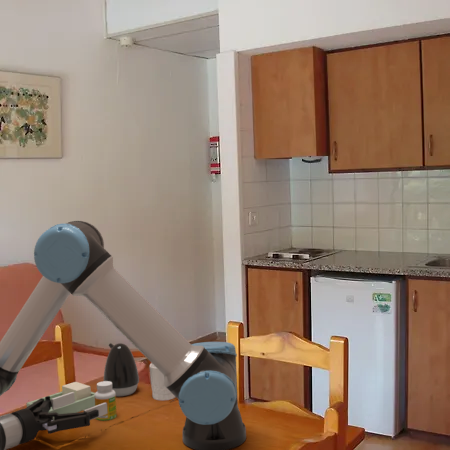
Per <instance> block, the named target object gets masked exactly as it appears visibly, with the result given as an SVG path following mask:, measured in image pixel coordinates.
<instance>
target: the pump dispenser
mask: <svg viewBox="0 0 450 450" xmlns="http://www.w3.org/2000/svg"><path fill="white" fill-rule="evenodd" d="M108 348H110V350H109V352H108V355H107V358H106V362H105V366H104V372H103V381H110V382H112V390H114V391H115V394H116V397H126V396H131V395H132V394H134V393H135V392H136V390H137V388H138V385H139V383H140V376H139V370H138V367H137V364H136V360H135V357H134V355H133V353H132V351H131V349H130V348H129V345H127V344H125V343H122V342H119V343H116V344H113V343H111V342H110V343H109V344H108Z"/></svg>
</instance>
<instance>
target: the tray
mask: <svg viewBox="0 0 450 450" xmlns="http://www.w3.org/2000/svg"><path fill="white" fill-rule="evenodd" d="M95 393H96V392H94V391H91V396H89V397H87V398H84V399H81V400H78V401H75V403H72V404H69V405H66V406H63V407H60V408H57V409H55V410H53V409H52V407H51V409H50V410H49V412H48V413H55V412H57V413H58V414H67V413H78V412H84V410H86V409H88V408H91V407H94V406H95ZM48 396H50V400H51V399H53V398H56V397H59V396H62V391H60V392H56V393H53V394H50V395H48ZM45 397H46V396H43V397H40V398H38V399H37V398H36V399H35V400H31V401H28V402H26V408H27V407H28V406H30V405H31V404H33V403H34V402H36V401H37V400H39V399H41V398H43V399H44V400H45ZM53 420H54V417H53Z"/></svg>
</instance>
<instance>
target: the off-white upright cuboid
mask: <svg viewBox="0 0 450 450" xmlns="http://www.w3.org/2000/svg"><path fill="white" fill-rule="evenodd" d="M61 392H62V395H65V394H68V393H71V392H74V398H75V401H78V400H81V399H84V398H87V397H89V396H91V392H92V390H91V386H90V385H88V384H84V383H81V382H78V381H73V382H71V383H68V384H63V385H61Z"/></svg>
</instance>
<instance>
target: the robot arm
mask: <svg viewBox="0 0 450 450" xmlns="http://www.w3.org/2000/svg"><path fill="white" fill-rule="evenodd" d="M33 249H34V250H33V259H34V264H35V266H36V269H37V270H38V272H39V273H40V274H41V275H42V276H41V278H40V280H39V281H38V283H37V284H36V286H35V288H34V289H33V290H32V292H31V294H30V295H29V297H28V299H26V301H25V303H24V305H23V306H22V308H21V309H20V311H19V312H18V313H17V316H16V317H15V318H14V320H13V321H12V323H11V325H10V326H9V328H8V329H7V331H6V332H5V334H4V335H3V337H2V338H1V339H0V397H2V395H3V394H5V393H6V392H8V391H9V390H10V388H12V387H13V385H14V383H15V382H16V380H17V377H18V374H19V372H20V371H21V370H22V367H24V365H25V363H26V361H27V360H28V358H29V357H30V355H31V354H32V352H33V350H34V349H35V348H36V346H37V345H38V343H39V342H40V340H41V338H42V337H44V334H45V332H46V331H47V330H48V328H49V327H50V325H51V323H52V322H53V321H54V319H55V317H56V316H57V314H58V313H59V311H60V310H61V308H62V307H63V305H64V304H65V303H66V301H67V299H68V298H69V297H70V295H72V296H73V297H84V298H85V299H86V300H87V301H88V302H89V303H91V304H92V306H93V307H94V308H95V309H96V310H97V311H98V312H99V313H100V314H102V315H103V316H104V317H105V319H106V320H107V321H109V322H110V323H111V325H113V326H114V327H115V328H116V329H117V330H118V331H119V332H120V333H121V335H123V337H125V338H126V339H127V340H128V341H129V342H130V343H131V344H132V345H133V346H134V347H135V348H136V349H137V350H138V351H139V352H140V353H141V354H142V355H143V356H144V357H145V358H146V359H147V360H148V361H149V362H150V364H151V363H152V364H153V365H154V366H155V367H156V368H157V369H158V370H159V371H160V372H162V373H163V374H164V385H165V387H166V388H167V389H168V390H169V391H170V392H171V393H172V394H173V395H174V396H175V398H176V399H177V400H178V405H179V407H180V410H181V412H182V414H183V415H184V416H185V421H184V426H183V428H182V442H183V444H184V445H185V446H186V447H188V448H189V449H193V450H231V449H234V448H237V447H239V446H241V445H242V444H243V443H244V442H245V441H246V439H247V430H246V429H247V427H246V425H245V423H244V422H243V418H242V414H241V412H240V409H239V406H238V381H237V380H238V378H237V377H238V376H237V372H238V371H237V357H238V356H237V355H238V354H237V352H236V346H235V344H233V343H231V342H227V341H204V342H203V341H202V342H196V343H190V342H189V341H188V340H187V339H186V337H184V336H183V334H181V333H180V332H179V331H178V330H177V329H176V328H175V327H174V326H173V325H172V324H171V323H170V322H169V320H167V319H166V318H165V317H164V316H163V315H162V314H161V313H160V312H159V311H158V310H157V309H156V308H155V307H154V306H153V305H152V304H151V303H150V302H149V300H147V299H146V298H145V297H144V296H143V295H141V293H140V292H139V291H137V289H136V288H135V287H133V286H132V285H131V283H129V282H128V281H127V279H126V278H125V277H123V276H122V275H121V274H120V272H118V271H117V270H116V268H114V267H115V266H114V256H113V255H112V254H110V253H109V252H108V250H106V248H105V242H104V238H103V236H102V234H101V232H100V230H99V229H98V228H97V227H96V226H95V225H93V224H91V223H89V222H87V221H82V220H73V221H69V222H65V223H59V224H54V225H52V226H50V227H49V228H48V229H46V230H45V231H44V232H43V233H42V234H40V236H39V238H38V239H37V241H36V243H35V245H34V248H33ZM44 397H45V400H44V399H43V397H40V398H41V399H40V398H38V399H39V400H37V399H36V400H37V401H36V402H34V403H33V404H31V405H30V406H28V407H27V406H26V407H24V408H22V409H18V410H15V411H12V412H11V413H10V412H9V413H6V414H2V415H0V450H9V449H12V448H14V447H17V446H19V445H23V444H25V443H28V442H30V441H33V440H35V438H36V437H37V434H38V433H39V431H40V432H41V431H46V430H47V434H53V433H57V432H62V431H66V430H68V431H69V430H73V429H74V430H75V429H77V428H83V427H84V428H85V427H89V426H91V421H92V420H96V418H97V417H100V416H103V415H105V414H107V403H102V404H99V405H97V406H94V407H91V408H88V409H85V410H83V411H80V412H77V413H67V414H58V413H57V412H55V413H48V412H49V410H50V409H51V407H52V409H53V410H55V409H57V408H60V407H63V406H66V405H69V404H72V403H75V398H74V392H71V393H68V394H65V395H62V396H59V397H56V398H53V399H51V400H50V396H49V395H46V396H44ZM53 417H54V420H53Z"/></svg>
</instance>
